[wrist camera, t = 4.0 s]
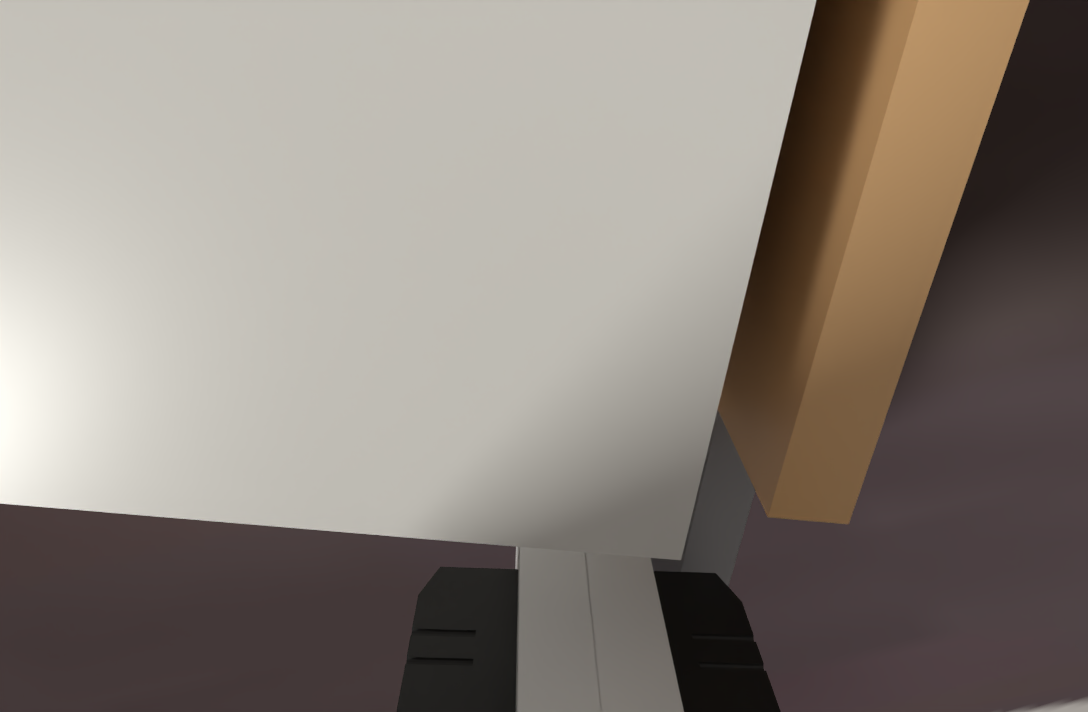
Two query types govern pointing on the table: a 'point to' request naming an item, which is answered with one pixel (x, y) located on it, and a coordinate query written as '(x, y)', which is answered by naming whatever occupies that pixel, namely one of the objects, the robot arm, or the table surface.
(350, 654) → the table surface
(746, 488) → the door
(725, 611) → the robot arm
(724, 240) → the housing
